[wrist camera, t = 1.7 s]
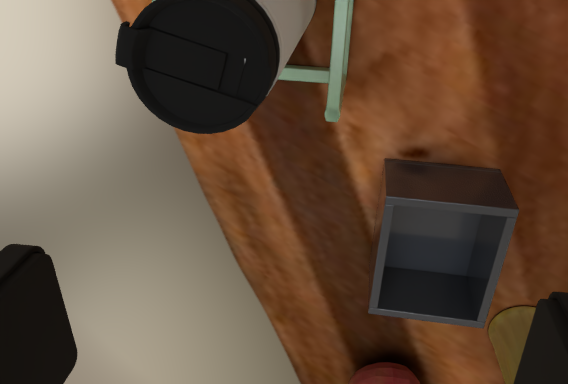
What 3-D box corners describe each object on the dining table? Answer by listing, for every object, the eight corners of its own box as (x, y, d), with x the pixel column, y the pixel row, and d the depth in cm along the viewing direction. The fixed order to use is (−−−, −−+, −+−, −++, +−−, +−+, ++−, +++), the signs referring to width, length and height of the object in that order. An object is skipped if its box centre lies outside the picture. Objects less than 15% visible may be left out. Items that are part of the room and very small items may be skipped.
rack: (191, -99, 36) (141, -100, 28) (362, -92, 35) (359, -92, 27) (199, 69, 42) (159, 106, 34) (346, 81, 41) (339, 122, 33)
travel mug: (241, -63, 37) (123, -36, 20) (328, -32, 37) (287, 22, 20) (221, 22, 40) (104, 111, 23) (301, 51, 40) (246, 161, 23)
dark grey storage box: (384, 158, 43) (386, 196, 38) (500, 169, 42) (519, 210, 37) (368, 266, 49) (368, 313, 43) (470, 278, 48) (483, 328, 42)
